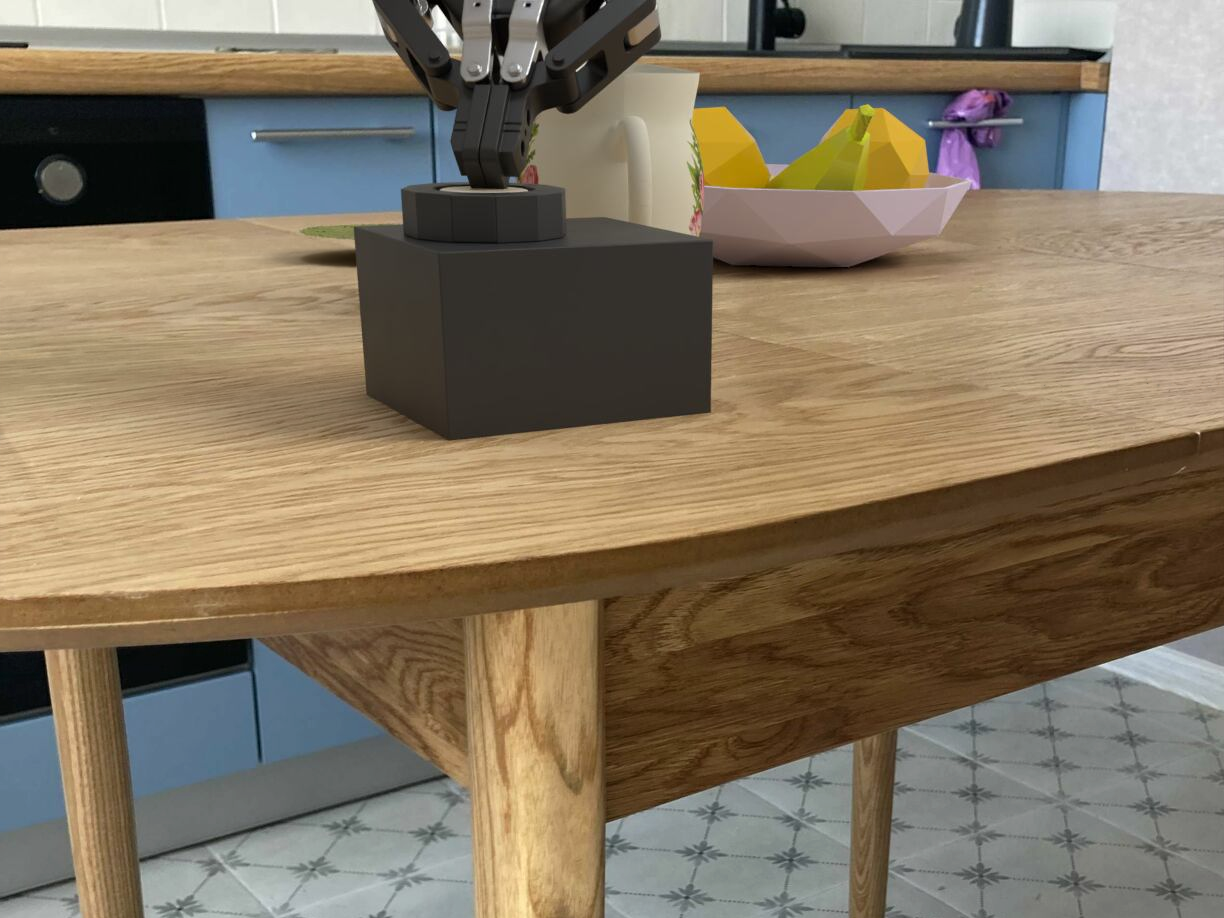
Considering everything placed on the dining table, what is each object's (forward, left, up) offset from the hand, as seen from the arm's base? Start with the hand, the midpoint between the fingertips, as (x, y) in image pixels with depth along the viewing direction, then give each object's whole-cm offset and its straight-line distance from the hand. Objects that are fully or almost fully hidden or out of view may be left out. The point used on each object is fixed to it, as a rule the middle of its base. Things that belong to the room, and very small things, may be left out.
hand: (484, 175), depth 63 cm
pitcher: (+17, +22, -10) cm, 29 cm away
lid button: (0, 0, -2) cm, 2 cm away
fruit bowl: (+41, +40, -10) cm, 58 cm away
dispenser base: (+2, 0, -9) cm, 10 cm away
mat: (+13, +52, -10) cm, 54 cm away
